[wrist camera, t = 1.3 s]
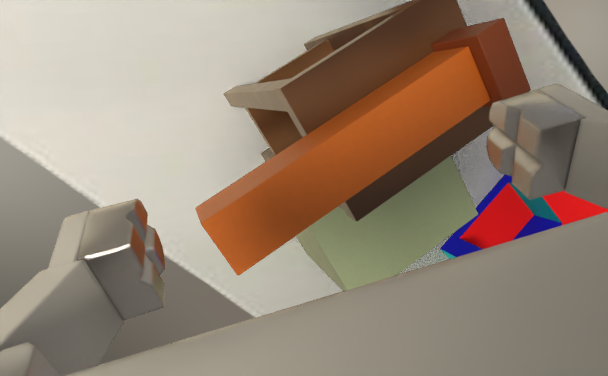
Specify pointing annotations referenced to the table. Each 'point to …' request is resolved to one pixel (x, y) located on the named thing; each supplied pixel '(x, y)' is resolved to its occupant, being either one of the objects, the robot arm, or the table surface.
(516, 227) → the building blocks toy
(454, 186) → the sage green box
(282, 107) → the stand
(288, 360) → the robot arm
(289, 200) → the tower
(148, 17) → the table surface
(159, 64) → the table surface
